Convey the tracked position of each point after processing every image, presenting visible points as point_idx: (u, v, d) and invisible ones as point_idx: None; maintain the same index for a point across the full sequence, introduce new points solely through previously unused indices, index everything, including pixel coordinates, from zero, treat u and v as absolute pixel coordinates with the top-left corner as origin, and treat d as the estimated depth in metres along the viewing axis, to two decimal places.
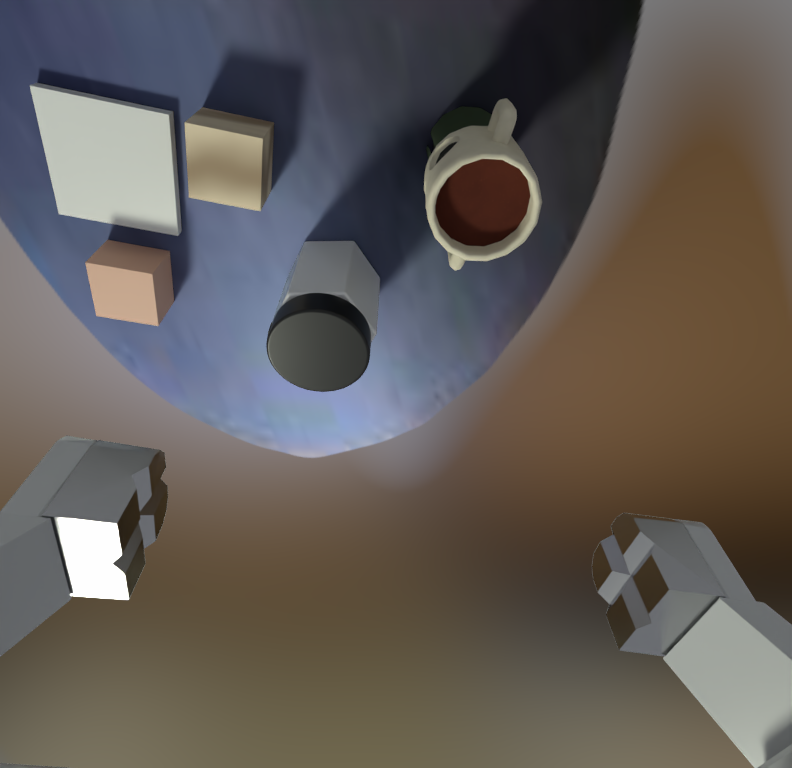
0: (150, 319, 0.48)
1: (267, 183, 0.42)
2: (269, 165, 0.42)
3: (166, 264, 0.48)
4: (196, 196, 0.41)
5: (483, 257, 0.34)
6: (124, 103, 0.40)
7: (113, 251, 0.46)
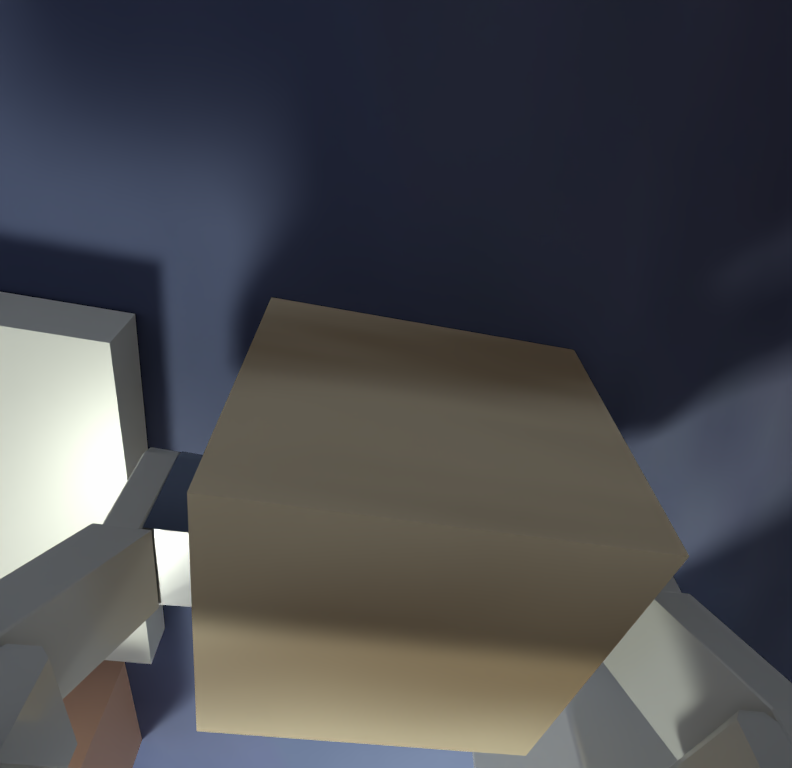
0: None
1: None
2: None
3: (113, 712, 0.15)
4: (233, 728, 0.08)
5: None
6: None
7: None
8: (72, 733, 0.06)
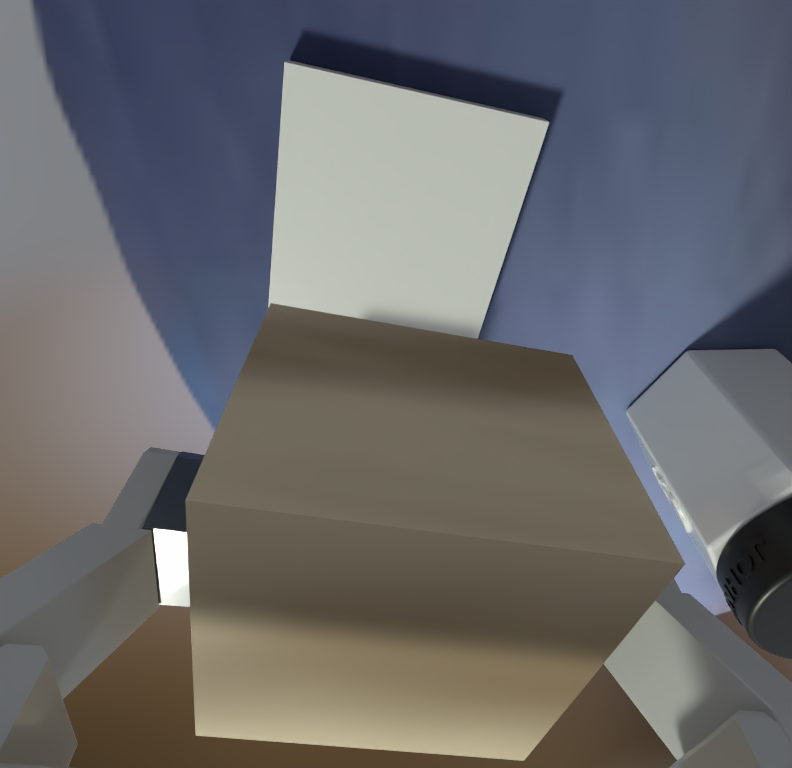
0: None
1: None
2: None
3: None
4: (232, 732, 0.08)
5: None
6: (459, 100, 0.20)
7: None
8: (72, 733, 0.06)
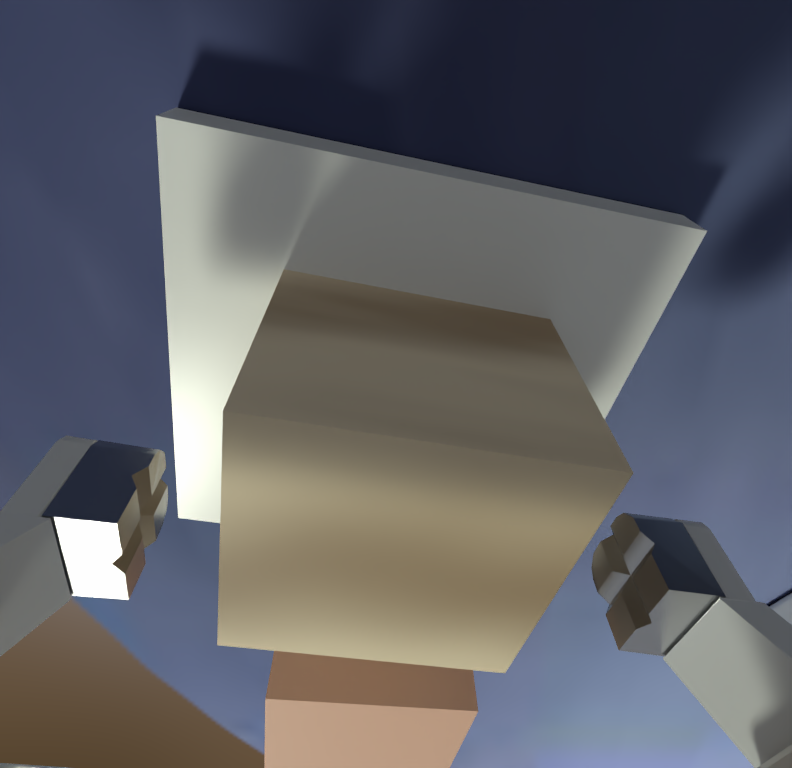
0: None
1: None
2: None
3: None
4: (249, 642, 0.09)
5: None
6: (525, 185, 0.10)
7: None
8: None
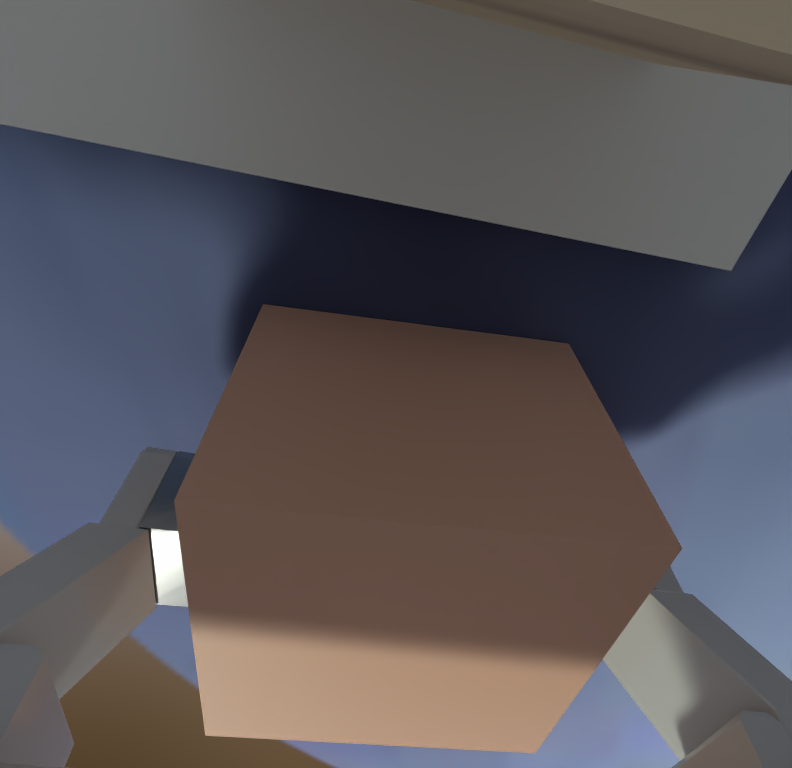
0: (504, 736, 0.09)
1: None
2: None
3: None
4: None
5: None
6: None
7: (324, 375, 0.08)
8: (68, 733, 0.06)
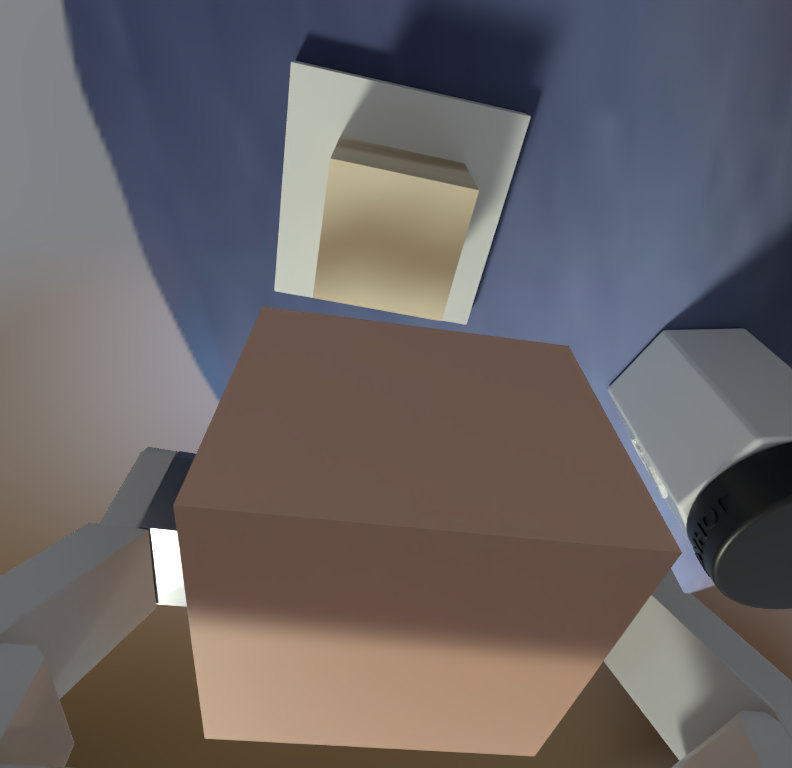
0: (504, 740, 0.09)
1: None
2: None
3: None
4: (327, 295, 0.22)
5: None
6: (449, 96, 0.22)
7: (323, 379, 0.07)
8: (68, 733, 0.06)
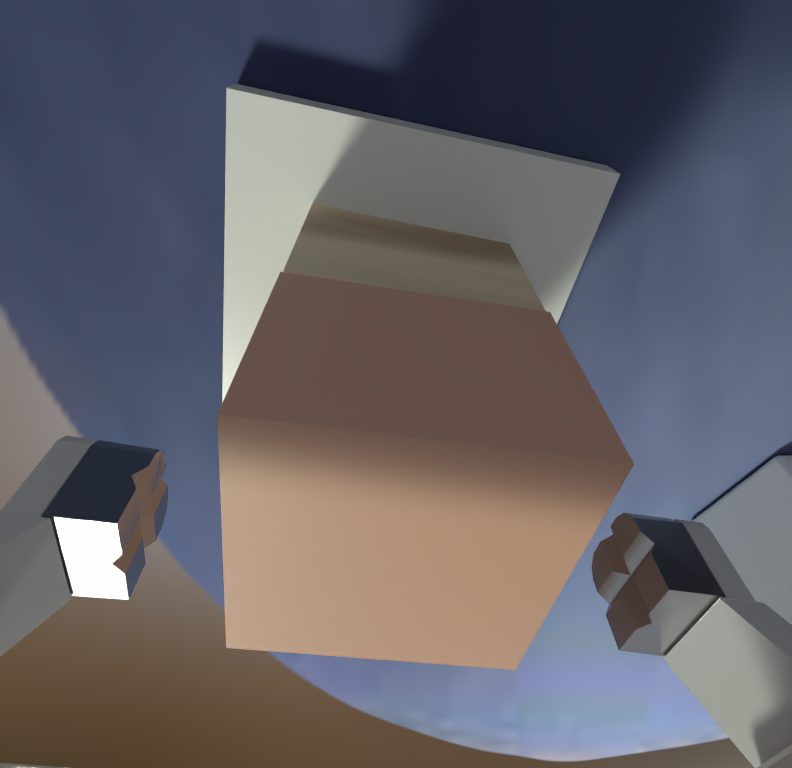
0: (488, 652, 0.10)
1: None
2: None
3: None
4: None
5: None
6: (488, 141, 0.14)
7: (336, 329, 0.09)
8: None
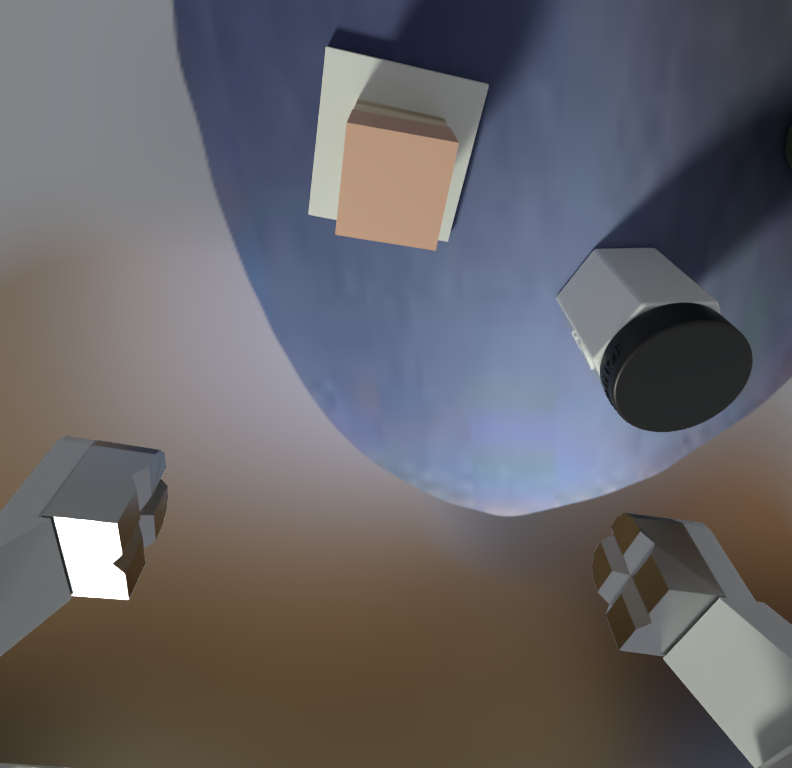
0: (425, 238, 0.28)
1: None
2: None
3: None
4: None
5: None
6: (433, 71, 0.32)
7: (374, 119, 0.27)
8: None
